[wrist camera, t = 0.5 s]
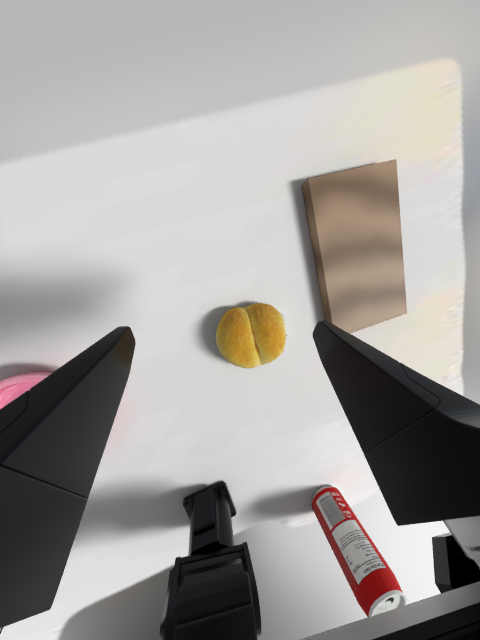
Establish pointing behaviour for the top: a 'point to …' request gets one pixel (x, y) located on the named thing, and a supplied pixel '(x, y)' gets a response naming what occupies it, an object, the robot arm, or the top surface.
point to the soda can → (357, 554)
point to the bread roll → (251, 335)
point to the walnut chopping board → (357, 244)
